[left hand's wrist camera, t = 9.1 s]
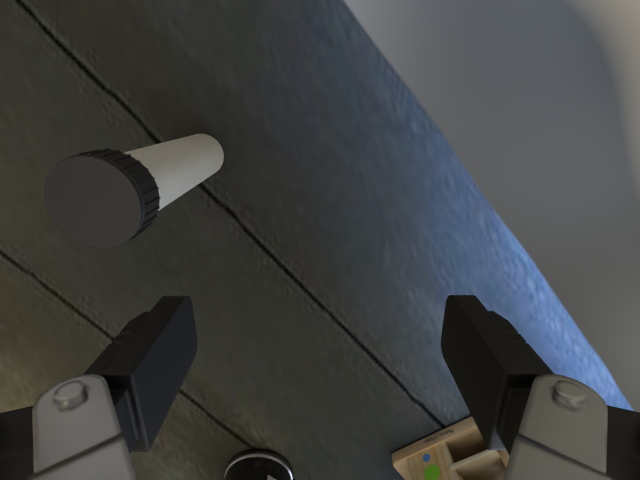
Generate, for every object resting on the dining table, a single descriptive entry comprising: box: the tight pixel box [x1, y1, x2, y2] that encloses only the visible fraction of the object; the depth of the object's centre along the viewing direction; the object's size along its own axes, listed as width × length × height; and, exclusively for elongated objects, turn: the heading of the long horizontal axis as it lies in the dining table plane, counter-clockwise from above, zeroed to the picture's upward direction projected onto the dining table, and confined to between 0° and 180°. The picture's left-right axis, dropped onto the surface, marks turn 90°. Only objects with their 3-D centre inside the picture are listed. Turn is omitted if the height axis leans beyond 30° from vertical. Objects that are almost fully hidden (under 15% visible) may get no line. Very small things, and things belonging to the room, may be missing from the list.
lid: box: [44, 149, 161, 248], centre depth 20 cm, size 5×5×2 cm
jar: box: [124, 134, 224, 211], centre depth 27 cm, size 4×4×18 cm
